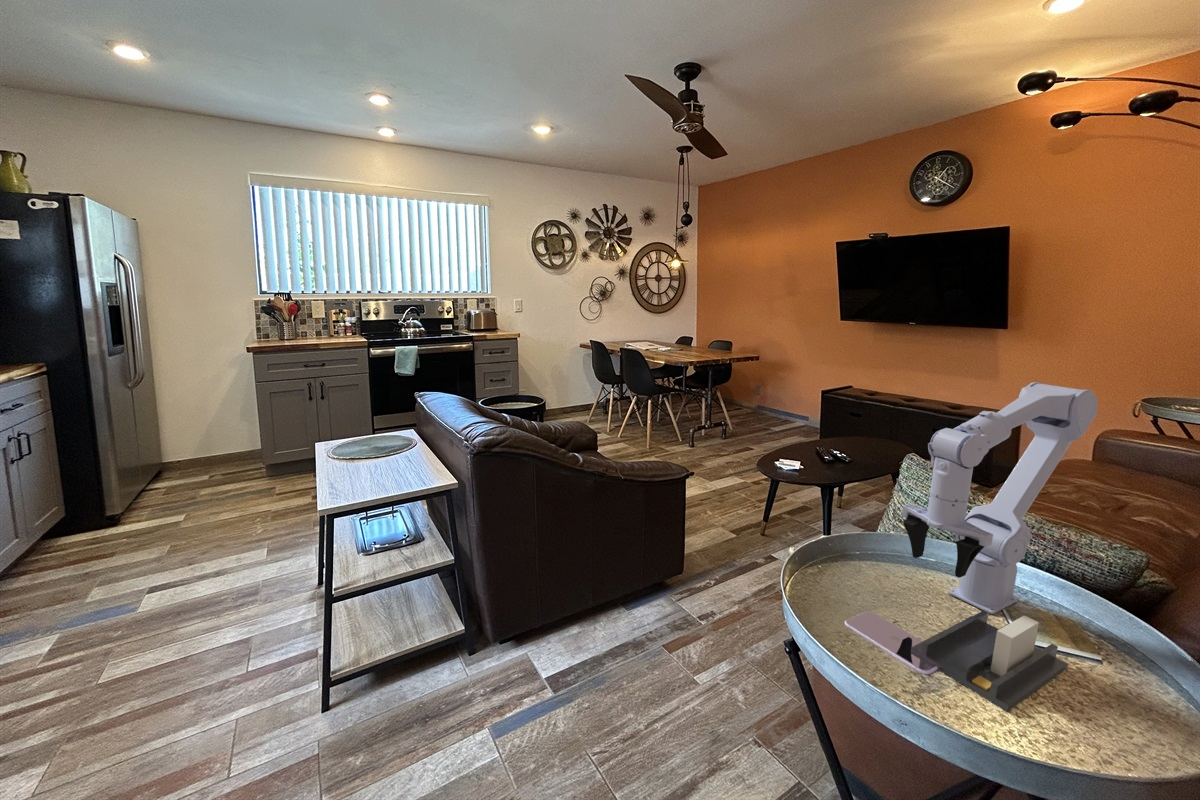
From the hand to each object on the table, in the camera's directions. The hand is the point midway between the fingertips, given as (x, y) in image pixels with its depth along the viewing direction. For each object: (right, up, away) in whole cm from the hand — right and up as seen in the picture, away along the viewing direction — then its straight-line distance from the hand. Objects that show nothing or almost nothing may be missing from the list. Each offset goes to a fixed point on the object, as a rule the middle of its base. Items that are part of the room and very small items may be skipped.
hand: (938, 565), depth 95 cm
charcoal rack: (+1, -12, -11) cm, 16 cm away
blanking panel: (+3, -11, -14) cm, 18 cm away
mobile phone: (-12, -12, -6) cm, 17 cm away
